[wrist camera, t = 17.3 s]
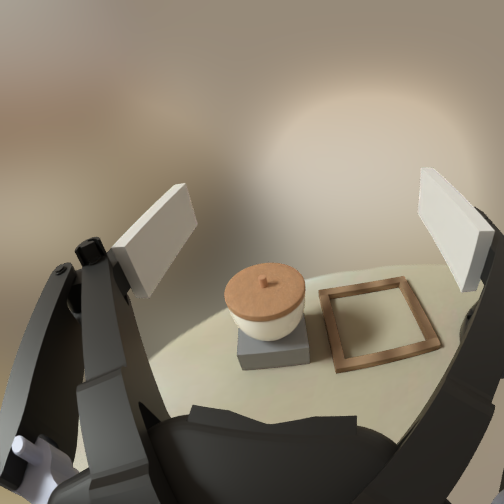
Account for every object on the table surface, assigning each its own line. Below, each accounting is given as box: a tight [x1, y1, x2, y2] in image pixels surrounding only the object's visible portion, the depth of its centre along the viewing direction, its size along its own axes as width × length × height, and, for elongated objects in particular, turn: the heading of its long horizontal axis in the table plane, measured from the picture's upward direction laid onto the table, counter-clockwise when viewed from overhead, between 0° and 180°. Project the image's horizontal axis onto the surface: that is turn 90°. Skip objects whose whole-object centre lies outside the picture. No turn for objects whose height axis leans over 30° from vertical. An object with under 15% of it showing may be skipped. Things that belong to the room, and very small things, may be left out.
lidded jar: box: [224, 263, 305, 341], centre depth 39 cm, size 11×11×9 cm
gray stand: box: [237, 312, 310, 370], centre depth 43 cm, size 10×10×4 cm
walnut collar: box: [319, 276, 441, 373], centre depth 42 cm, size 17×17×1 cm
